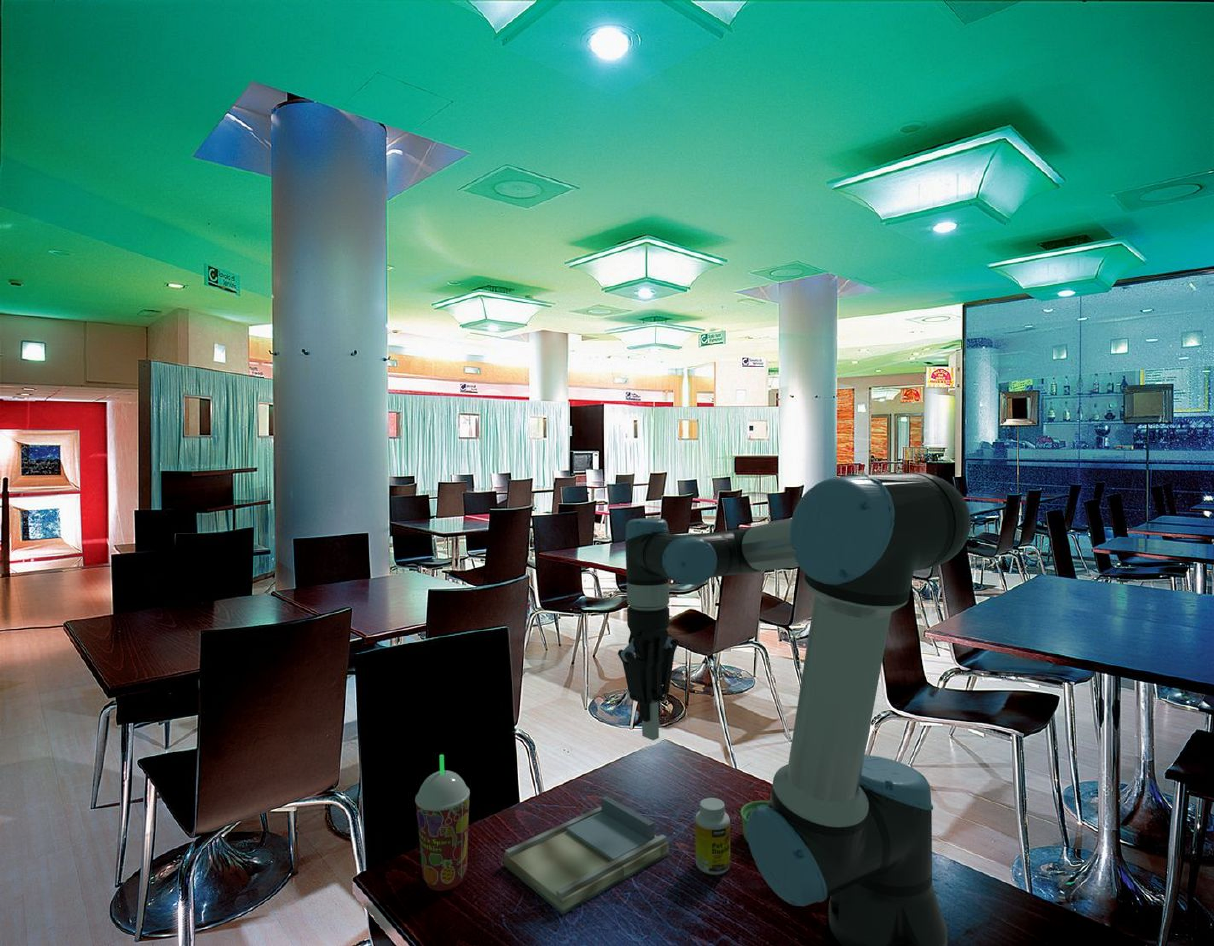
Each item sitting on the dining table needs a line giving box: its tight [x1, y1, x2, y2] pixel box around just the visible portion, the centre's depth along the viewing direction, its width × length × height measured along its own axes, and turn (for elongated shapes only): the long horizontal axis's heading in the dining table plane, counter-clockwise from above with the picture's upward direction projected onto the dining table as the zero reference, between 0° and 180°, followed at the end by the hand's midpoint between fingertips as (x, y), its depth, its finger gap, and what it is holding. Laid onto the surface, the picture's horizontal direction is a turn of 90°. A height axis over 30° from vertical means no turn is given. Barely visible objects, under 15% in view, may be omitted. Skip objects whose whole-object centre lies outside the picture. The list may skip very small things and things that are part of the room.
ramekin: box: [740, 800, 770, 843], centre depth 118 cm, size 9×9×4 cm
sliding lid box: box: [503, 806, 670, 915], centre depth 113 cm, size 22×16×3 cm
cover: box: [567, 795, 656, 861], centre depth 116 cm, size 9×12×3 cm
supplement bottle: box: [694, 797, 731, 876], centre depth 110 cm, size 6×6×10 cm
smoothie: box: [414, 754, 471, 892], centre depth 108 cm, size 8×8×20 cm
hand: (650, 736), depth 122 cm, fingers closed
